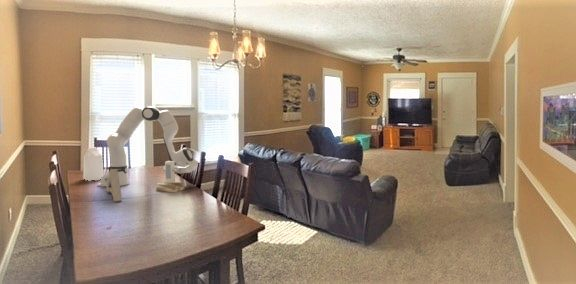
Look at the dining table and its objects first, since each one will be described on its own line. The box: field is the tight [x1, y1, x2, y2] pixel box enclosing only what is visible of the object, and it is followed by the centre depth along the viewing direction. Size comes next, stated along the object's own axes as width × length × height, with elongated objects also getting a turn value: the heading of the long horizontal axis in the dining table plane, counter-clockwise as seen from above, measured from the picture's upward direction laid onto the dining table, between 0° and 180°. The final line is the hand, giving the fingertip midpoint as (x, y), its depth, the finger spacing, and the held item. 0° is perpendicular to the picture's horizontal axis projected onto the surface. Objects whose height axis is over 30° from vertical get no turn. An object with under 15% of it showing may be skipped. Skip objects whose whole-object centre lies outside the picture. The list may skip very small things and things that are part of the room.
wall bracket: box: [105, 169, 123, 203], centre depth 268 cm, size 22×4×30 cm
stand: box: [155, 180, 185, 193], centre depth 288 cm, size 11×16×4 cm
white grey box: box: [164, 160, 176, 183], centre depth 287 cm, size 4×6×15 cm
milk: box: [82, 146, 105, 182], centre depth 326 cm, size 12×12×26 cm
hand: (169, 170), depth 286 cm, fingers closed on white grey box, 5 cm apart
